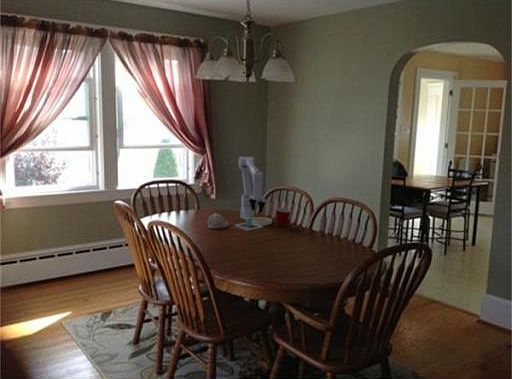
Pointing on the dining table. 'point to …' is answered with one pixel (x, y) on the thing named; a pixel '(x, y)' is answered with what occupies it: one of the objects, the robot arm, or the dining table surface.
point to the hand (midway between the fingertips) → (257, 211)
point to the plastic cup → (282, 216)
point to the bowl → (261, 220)
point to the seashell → (217, 222)
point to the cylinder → (249, 222)
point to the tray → (247, 228)
